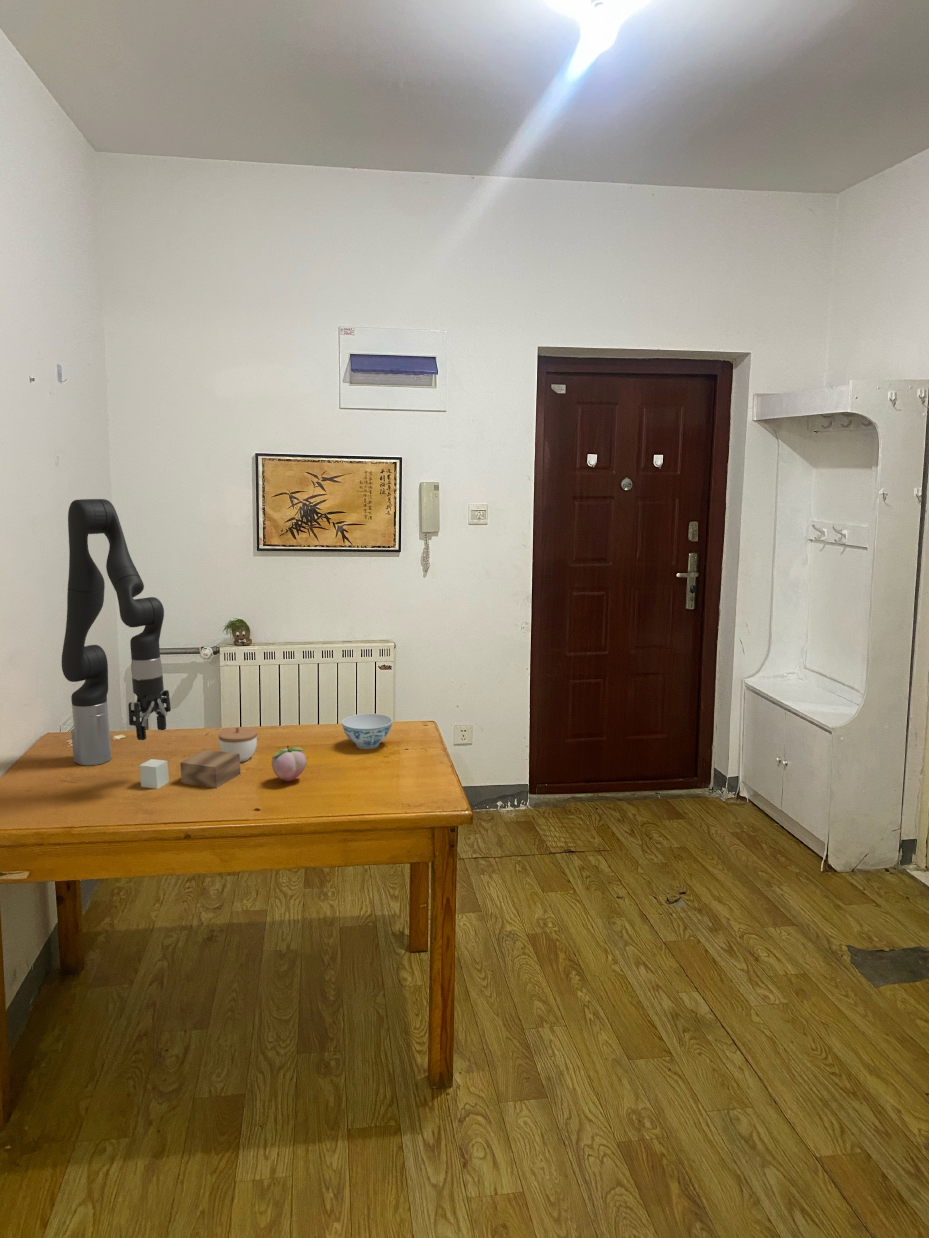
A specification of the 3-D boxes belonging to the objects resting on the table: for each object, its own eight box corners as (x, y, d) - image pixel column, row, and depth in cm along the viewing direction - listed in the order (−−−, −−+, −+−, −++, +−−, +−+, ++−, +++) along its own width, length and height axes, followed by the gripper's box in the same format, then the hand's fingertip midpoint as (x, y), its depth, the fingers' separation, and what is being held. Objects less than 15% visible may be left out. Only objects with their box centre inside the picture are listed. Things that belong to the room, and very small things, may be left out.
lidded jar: (248, 766, 250) (246, 734, 248) (213, 763, 252) (211, 731, 250) (264, 753, 260) (263, 722, 258) (230, 751, 262) (228, 720, 261)
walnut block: (181, 783, 237) (180, 762, 236) (206, 770, 248) (205, 749, 247) (216, 788, 234) (215, 767, 233) (240, 774, 244) (239, 753, 243)
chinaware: (390, 753, 260) (389, 728, 258) (338, 753, 260) (338, 728, 258) (395, 737, 274) (394, 713, 273) (346, 737, 275) (345, 713, 273)
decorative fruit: (294, 772, 245) (293, 737, 243) (312, 780, 239) (310, 744, 237) (265, 781, 238) (263, 745, 236) (282, 789, 232) (280, 753, 231)
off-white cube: (141, 786, 235) (139, 765, 234) (152, 780, 240) (151, 758, 239) (157, 788, 234) (155, 767, 232) (168, 782, 238) (167, 760, 237)
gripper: (151, 667, 239) (156, 725, 242) (117, 680, 225) (122, 741, 228) (176, 669, 237) (180, 727, 240) (142, 682, 223) (147, 744, 226)
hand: (152, 734), depth 234 cm, fingers open, 8 cm apart
